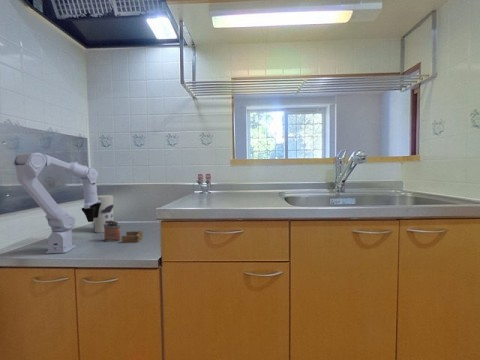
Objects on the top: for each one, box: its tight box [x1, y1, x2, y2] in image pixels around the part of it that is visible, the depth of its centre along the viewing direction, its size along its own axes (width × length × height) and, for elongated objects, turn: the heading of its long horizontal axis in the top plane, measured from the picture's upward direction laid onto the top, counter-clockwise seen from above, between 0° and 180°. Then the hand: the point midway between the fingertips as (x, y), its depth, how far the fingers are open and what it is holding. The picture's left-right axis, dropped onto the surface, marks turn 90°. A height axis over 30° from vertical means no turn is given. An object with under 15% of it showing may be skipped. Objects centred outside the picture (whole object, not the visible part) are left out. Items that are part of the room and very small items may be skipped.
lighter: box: [103, 220, 122, 243], centre depth 129 cm, size 8×3×10 cm, turn 84°
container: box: [93, 194, 115, 234], centre depth 149 cm, size 10×10×20 cm
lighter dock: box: [121, 230, 144, 244], centre depth 131 cm, size 10×8×3 cm
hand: (93, 219), depth 129 cm, fingers open, 7 cm apart
